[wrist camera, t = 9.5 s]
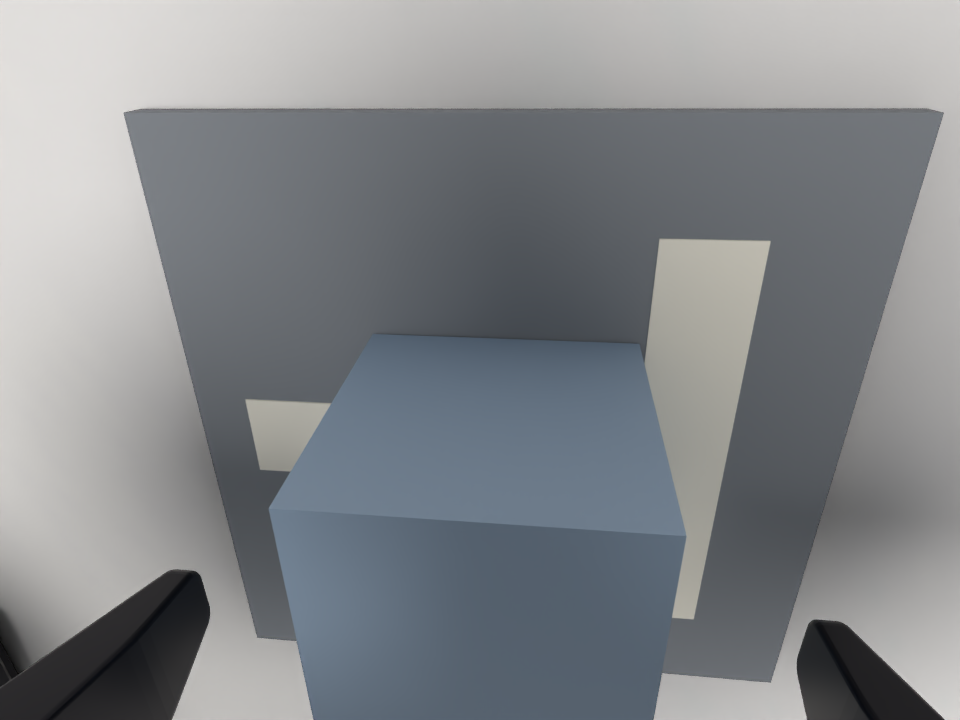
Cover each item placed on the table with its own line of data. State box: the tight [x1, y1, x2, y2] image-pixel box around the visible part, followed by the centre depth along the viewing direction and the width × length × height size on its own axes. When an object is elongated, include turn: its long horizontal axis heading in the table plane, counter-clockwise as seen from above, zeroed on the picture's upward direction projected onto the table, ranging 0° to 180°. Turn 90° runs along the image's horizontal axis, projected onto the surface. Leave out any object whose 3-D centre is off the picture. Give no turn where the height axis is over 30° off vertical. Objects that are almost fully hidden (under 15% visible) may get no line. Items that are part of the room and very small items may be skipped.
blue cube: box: [269, 334, 687, 720], centre depth 11 cm, size 5×5×5 cm
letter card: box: [124, 109, 944, 683], centre depth 13 cm, size 13×13×1 cm
